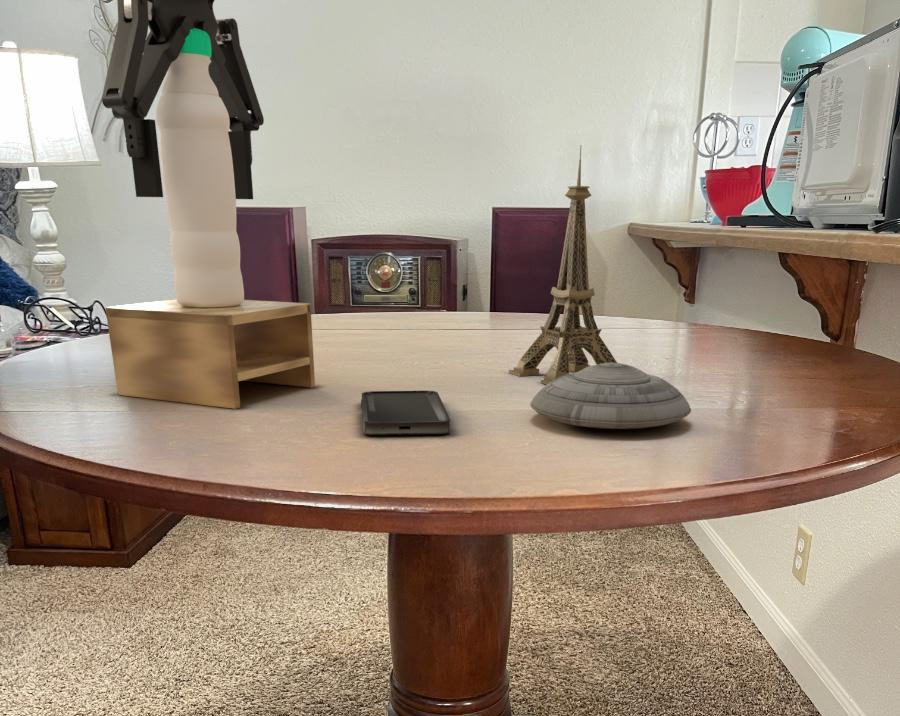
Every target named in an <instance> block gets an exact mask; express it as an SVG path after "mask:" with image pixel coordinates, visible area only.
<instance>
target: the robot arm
mask: <svg viewBox="0 0 900 716" xmlns="http://www.w3.org/2000/svg"><path fill="white" fill-rule="evenodd" d="M215 1H216V0H117V21H118V23H117V25H116V33H115V37H114V40H113V41H114V42H113V45H112V48H111V49H112V50H111V54H110V59H109V63H108V68H107V74H106V78H105V81H104V86H103V91H102V95H101V102H102V104H103V106H104V108H106V109H111V112H112V116H113V117H114V118H115V119H117V120H122V121H123V122H122V123H123V129H124V137H125V145H126V147H125V148H126V152H127V155H128V157H129V158H131V164H132V173H133V181H134V189H135V197H136V198H164V189H163V179H162V170H161V161H160V153H159V152H160V151H159V143H158V135H157V124H156V119H151V118H146V117H147V116H148V114H149V112H150V110H151V107H152V105H153V103H154V101H155V98H156V97H157V95H158V92H159V90H160V88H161V87H162V85H163V83H164V81H165V78H166V76H167V73H168V69H169V67H170V65H171V63H172V62H173V61H175V60H176V59H177V58H178V56H179V54H180V52H181V49H182V47H183V45H184V43H185V38H186V37H187V36H188V35H189V33H190V29H193V28H196V29H201V30H203V31H205V32H206V33H207V34H208V35H209V37H210V41H211V52H212V54H211V58H210V60H211V63H210V64H209V67H208V72H209V75H210V78H211V79H212V81H213V82H214V84H215V86H216V87H217V90H218V94H219V97H220V98H221V99H222V101H223V103H224V105H225V107H226V109H227V112H228V115H229V120H230V126H229V130H228V135H229V140H230V146H231V153H232V161H233V171H234V182H235V195H236V200H254V189H253V176H252V175H253V174H252V165H253V149H252V136H251V135H252V134H251V133H252V132H257V131H259V129H260V126H263V125H264V122H265V120H264V119H265V118H264V115H263V111H262V108H261V106H260V105H261V104H260V102H259V100H258V95H257V94H256V90H255V87H254V84H253V81H252V78H251V74H250V72H249V69H248V65H247V62H246V60H245V56H244V53H243V50H242V47H241V42H240V41H241V40H240V34H239V33H240V32H239V26H238V22H237V21H236V19H235V18H233V17H231V18H221V19H216V16H215V15H216V14H215V11H214V3H215ZM148 31H149V33H148ZM249 111H250V112H249ZM145 118H146V119H145Z"/></svg>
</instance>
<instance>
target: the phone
mask: <svg viewBox="0 0 900 716" xmlns="http://www.w3.org/2000/svg"><path fill="white" fill-rule="evenodd" d="M360 408H361V411H362V412H361V413H362V432H363V434H365V435H367V436H368V435H369V436H409V435H411V436H412V435H413V436H414V435H415V436H416V435H417V436H418V435H444V434H445V435H446V434H449V433H450V432H451V418H450V415H449V414H448V411H447V409H446V407H445V405H444V403H443V400H442V399H441V396H440V394H439V392H438V391H435V390H372V391H371V390H370V391H369V390H368V391H364V392H362V393H361V398H360Z"/></svg>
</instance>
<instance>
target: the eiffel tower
mask: <svg viewBox="0 0 900 716" xmlns="http://www.w3.org/2000/svg"><path fill="white" fill-rule="evenodd" d="M579 150H580V151H579V161H578V168H577V169H578V170H577V179H576V185H569V186H567V189H568V190H567V192H566V193H565V194H564V196H565V197H567V198H568V199H570V204H569V211H568V217H567V224H566V230H565V237H564V243H563V249H562V254H561V255H562V256H561V262H560V268H559V274H558V279H557V286H552V287H551V291H550V295H552V296H553V301H552V304H551V308H550V312H549V313H548V317H547V319H546V321H545V322H544V325H542V326H541V325H540V327H539V328H540V330H541V333H540V334H539V336H537V338H536V339H535V340H534V341H533V343H532V344H531V345H530V346H529V347H528V348H527V351H525V353H524V354H523V355H522V356H521V358H520V359H519V360H518V362H517V364H516V366H515V367H513V369H508V373H509V374H511V375H514V376H517V377H525V376H539V375H540V369H539V368H537V367H538V366H539V365H540V364H541V362H542V361H543V360H544V358H545V357H546V355H547V354H548V353H549V352H550V351H551V350H552V349H553V348H555V349H556V350H557V352H556V354H555V356H554V358H553V360H552V362H551V364H550V366H549V367H548V369H547V371H546V376H544V377H543V379H540V384H542V385H547V384H548V383H550V382H551V381H553V380H555V379H557V378H559V377H561V376H563V375H565V374H568V373H570V372H572V373H573V372H579V371H580V370H582V369H584V368H587V367H590V366H591V364H589V360H588V357H587V355H586V353H585V351H586V352H587V353H588V354H589V355H590V356H591V358H592V359H593V362H594V363H595V365H597V364H601V363H618V361H617V360H616V359H615V357H614V356H613V354H612V352H611V351H610V349H609V348H608V346H607V345H606V343H605V342H604V340H603V339H602V338H601V336H600V333H601V332H602V328H600V329H599V328H598V325H597V322H596V320H595V317H594V311H593V305H592V297H594V296H596V294H595V290H594V287H592V288H590V286H589V285H590V284H589V267H588V266H589V264H588V247H587V246H588V245H587V224H586V220H587V219H586V199H588V198H590V197H591V196H592V193H591V192H590V190H589V189H590V188H591V187H590V186H588V185H582V145H580V149H579ZM563 306H564V309H563ZM562 309H563V313H562ZM580 309H581V315H582V320H583V325H584V326H582V325H581V318H580ZM561 313H562V314H563V315H562V320H561V324H560V326H557V325H558V323H559V319H560V315H561ZM583 349H584V350H585V351H584V350H583Z"/></svg>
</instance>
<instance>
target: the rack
mask: <svg viewBox="0 0 900 716" xmlns="http://www.w3.org/2000/svg"><path fill="white" fill-rule="evenodd" d="M105 315H106V321H107V328H108V335H109V336H108V337H109V342H110V343H109V344H110V349H111V355H112V356H111V358H112V365H113V370H114V377H115V384H116V391H117V395H118V396H125V397H133V398H140V399H149V400H157V401H158V400H159V401H167V402H174V403H184V404H191V405H200V406H209V407H217V408H223V409H232V410H238V409H240V408H241V397H240V387H239V382H241V381H243V382H252V383H253V382H254V383H261V384H262V383H263V384H271V385H282V386H292V387H300V388H309V389H311V388H315V387H316V378H315V377H316V376H315V360H314V359H315V358H314V343H313V340H314V339H313V325H312V324H313V323H312V304H311V303H309V302H293V301H291V302H290V301H277V300H276V301H275V300H273V301H272V300H256V299H244V301H243V302H242V303H241V304H240V305H238V306H232V307H220V308H194V307H185V306H182V305H180V304H179V303H178V302H177V300H176V299H168V300H159V301H151V302H141V303H131V304H123V305H115V306H106V307H105Z"/></svg>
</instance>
